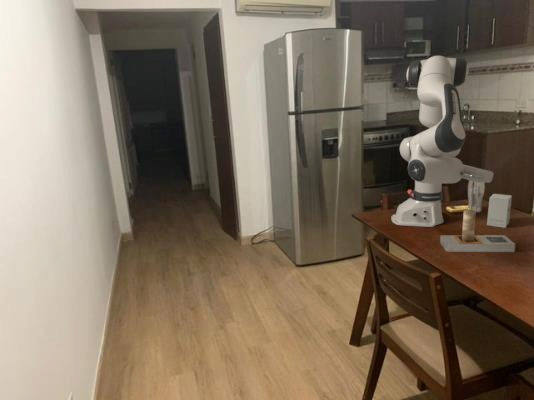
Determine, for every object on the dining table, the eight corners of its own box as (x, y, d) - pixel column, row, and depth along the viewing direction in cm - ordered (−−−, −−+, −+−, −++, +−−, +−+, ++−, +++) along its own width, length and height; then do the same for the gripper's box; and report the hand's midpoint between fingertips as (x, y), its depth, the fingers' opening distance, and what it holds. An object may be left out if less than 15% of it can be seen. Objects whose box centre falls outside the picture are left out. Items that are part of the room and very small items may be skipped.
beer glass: (481, 209, 190) (483, 179, 186) (483, 213, 184) (486, 182, 180) (465, 208, 193) (467, 178, 189) (467, 212, 186) (469, 182, 182)
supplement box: (506, 228, 164) (509, 199, 160) (486, 225, 168) (488, 197, 165) (509, 223, 169) (512, 195, 166) (490, 220, 174) (492, 193, 171)
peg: (461, 248, 147) (463, 212, 143) (461, 244, 150) (463, 209, 146) (473, 249, 145) (476, 213, 141) (472, 245, 148) (475, 210, 145)
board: (446, 251, 145) (447, 243, 144) (440, 242, 153) (440, 234, 152) (514, 251, 141) (515, 243, 140) (503, 242, 149) (504, 234, 148)
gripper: (479, 168, 123) (506, 168, 129) (428, 155, 141) (454, 156, 147) (474, 187, 125) (501, 187, 131) (424, 172, 142) (450, 172, 148)
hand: (476, 170), depth 139 cm, fingers open, 8 cm apart
